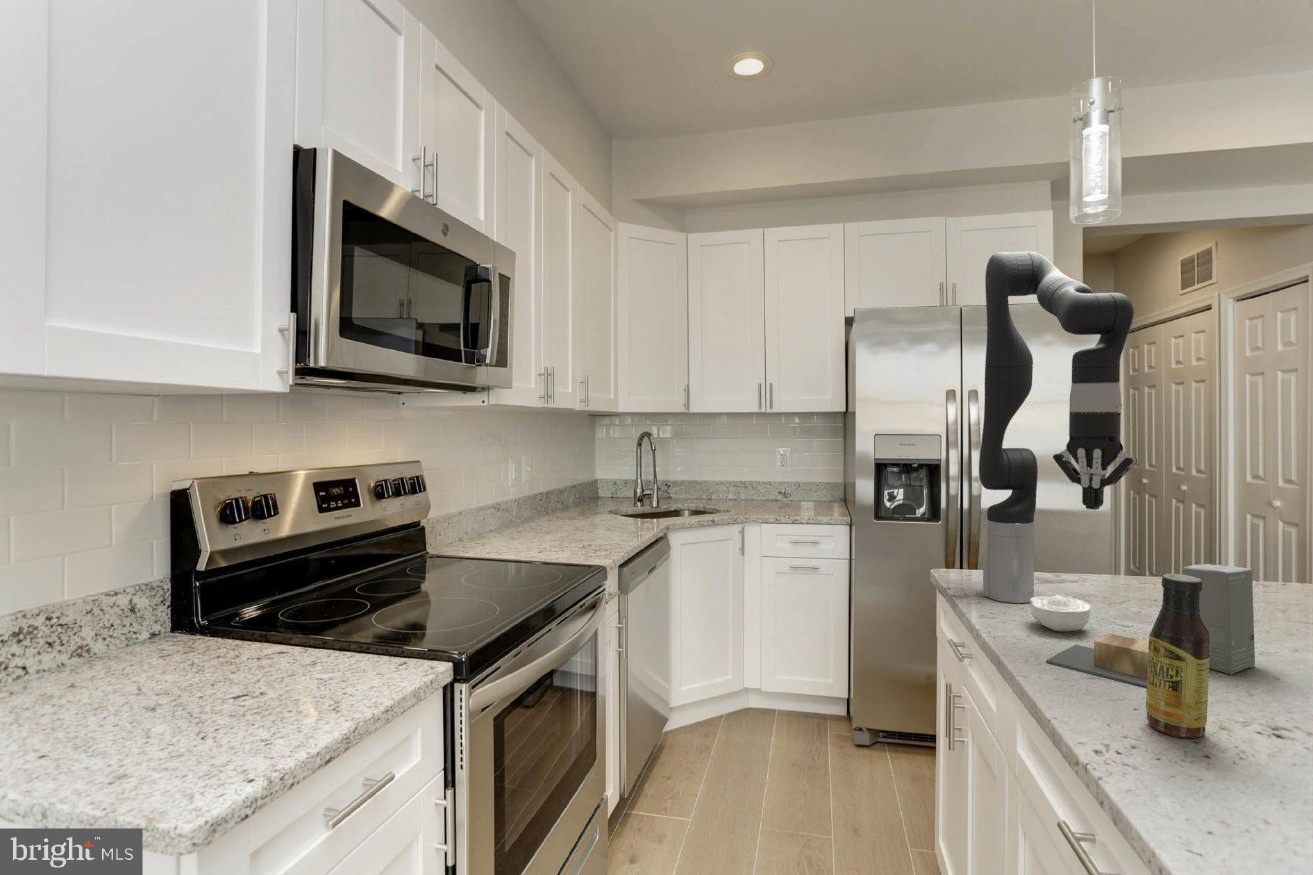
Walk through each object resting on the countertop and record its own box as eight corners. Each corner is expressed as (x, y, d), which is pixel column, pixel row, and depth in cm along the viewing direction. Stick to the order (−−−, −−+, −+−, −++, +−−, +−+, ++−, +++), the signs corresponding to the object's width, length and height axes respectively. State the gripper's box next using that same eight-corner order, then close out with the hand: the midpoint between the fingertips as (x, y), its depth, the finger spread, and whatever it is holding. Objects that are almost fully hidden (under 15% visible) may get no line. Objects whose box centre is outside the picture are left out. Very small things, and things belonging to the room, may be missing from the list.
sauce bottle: (1134, 720, 91) (1134, 571, 90) (1178, 717, 91) (1179, 569, 91) (1175, 743, 84) (1176, 582, 84) (1222, 740, 85) (1224, 581, 84)
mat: (1045, 662, 112) (1045, 660, 112) (1075, 646, 120) (1075, 644, 120) (1163, 692, 100) (1163, 689, 100) (1188, 672, 107) (1188, 669, 107)
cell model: (1097, 626, 131) (1098, 591, 131) (1083, 642, 122) (1083, 604, 122) (1038, 616, 138) (1038, 583, 138) (1021, 630, 129) (1021, 595, 129)
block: (1094, 640, 110) (1170, 657, 102) (1107, 633, 113) (1181, 648, 106) (1094, 665, 110) (1169, 683, 102) (1107, 657, 113) (1181, 674, 106)
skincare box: (1231, 676, 106) (1232, 573, 105) (1179, 661, 112) (1179, 565, 112) (1258, 666, 110) (1259, 567, 109) (1205, 653, 116) (1206, 559, 116)
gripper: (1044, 410, 122) (1043, 506, 123) (1130, 410, 112) (1128, 516, 112) (1063, 409, 127) (1061, 502, 128) (1147, 409, 116) (1144, 511, 117)
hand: (1092, 508), depth 120 cm, fingers closed
